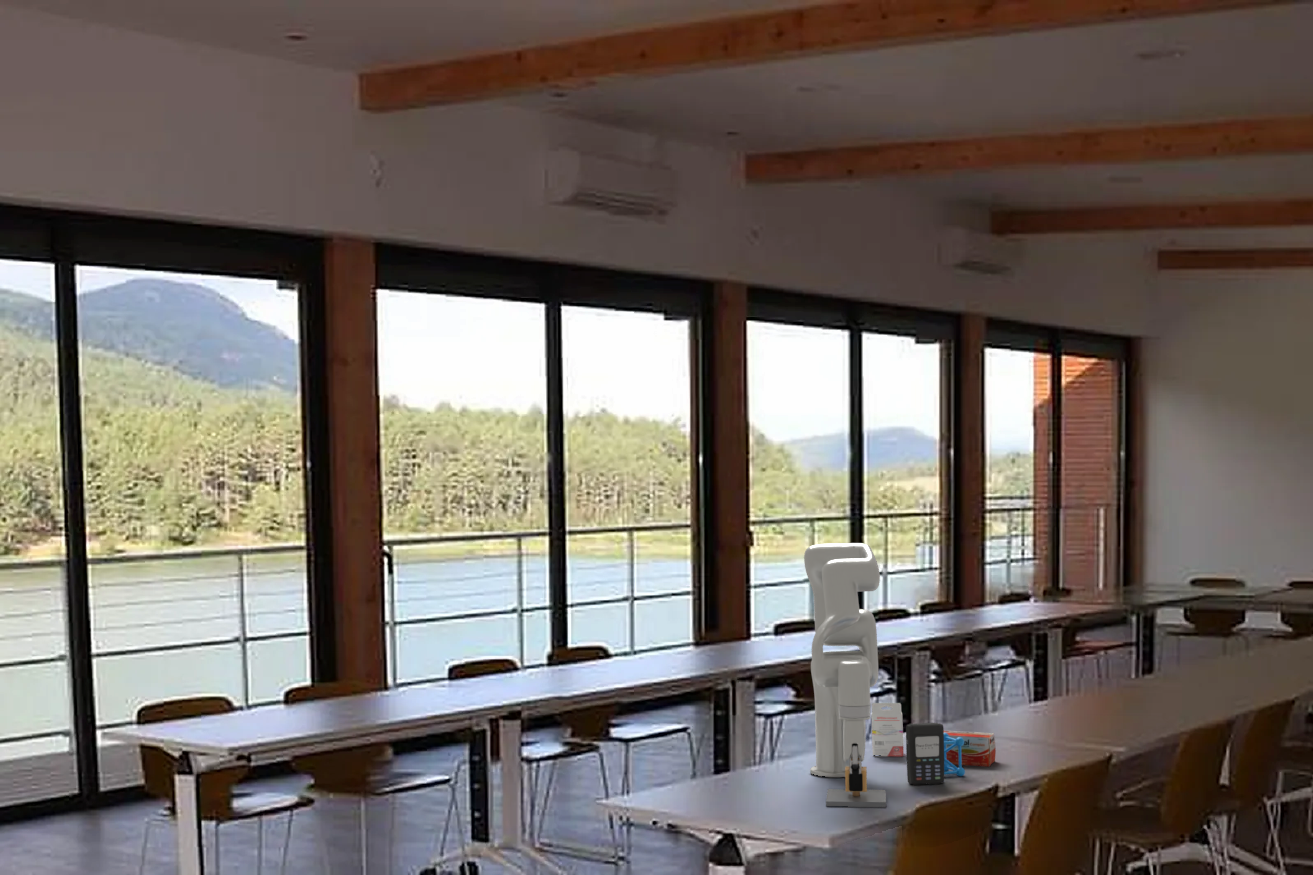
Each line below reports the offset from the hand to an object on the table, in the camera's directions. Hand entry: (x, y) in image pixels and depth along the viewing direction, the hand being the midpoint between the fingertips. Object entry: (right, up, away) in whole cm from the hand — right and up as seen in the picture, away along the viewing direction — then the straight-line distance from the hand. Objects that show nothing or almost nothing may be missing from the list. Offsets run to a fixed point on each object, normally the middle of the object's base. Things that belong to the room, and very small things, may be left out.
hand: (856, 787), depth 367 cm
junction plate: (0, -3, 0) cm, 3 cm away
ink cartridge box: (+16, -5, +58) cm, 61 cm away
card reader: (+20, -3, +18) cm, 27 cm away
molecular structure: (+25, -4, +30) cm, 39 cm away
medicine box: (+35, -4, +45) cm, 57 cm away
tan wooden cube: (0, -1, 0) cm, 1 cm away
